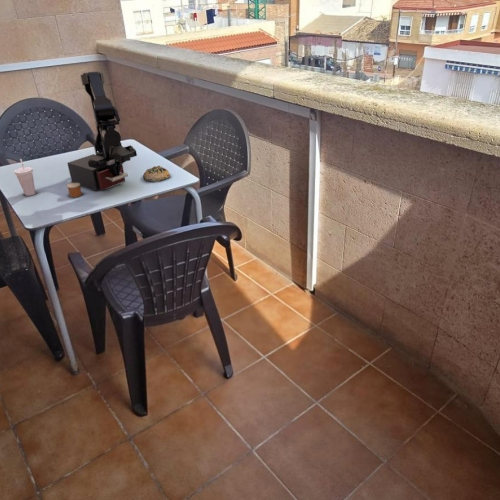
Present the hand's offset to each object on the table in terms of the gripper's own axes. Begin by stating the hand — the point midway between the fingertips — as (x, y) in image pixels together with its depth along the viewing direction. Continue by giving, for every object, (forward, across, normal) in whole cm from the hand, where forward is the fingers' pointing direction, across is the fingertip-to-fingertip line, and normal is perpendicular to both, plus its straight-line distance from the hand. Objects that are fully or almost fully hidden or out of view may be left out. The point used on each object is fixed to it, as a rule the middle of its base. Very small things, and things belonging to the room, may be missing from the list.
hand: (117, 178), depth 167 cm
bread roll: (+4, +17, -4) cm, 18 cm away
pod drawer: (+3, 0, +7) cm, 8 cm away
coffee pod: (+4, -13, +9) cm, 17 cm away
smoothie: (+4, -22, +25) cm, 34 cm away
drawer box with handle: (+4, 0, +13) cm, 14 cm away
